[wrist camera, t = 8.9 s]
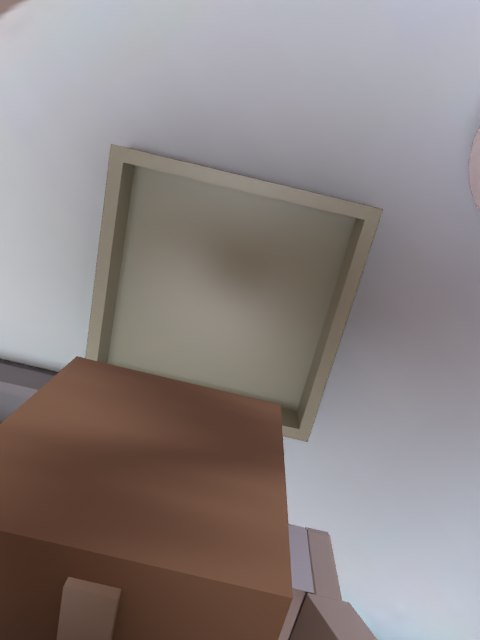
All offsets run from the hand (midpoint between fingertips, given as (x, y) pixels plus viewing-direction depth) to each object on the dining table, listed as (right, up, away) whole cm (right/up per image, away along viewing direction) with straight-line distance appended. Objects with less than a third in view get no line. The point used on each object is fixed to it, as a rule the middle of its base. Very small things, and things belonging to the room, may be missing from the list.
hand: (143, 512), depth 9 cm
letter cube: (0, +1, +2) cm, 2 cm away
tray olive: (+1, +6, +16) cm, 17 cm away
